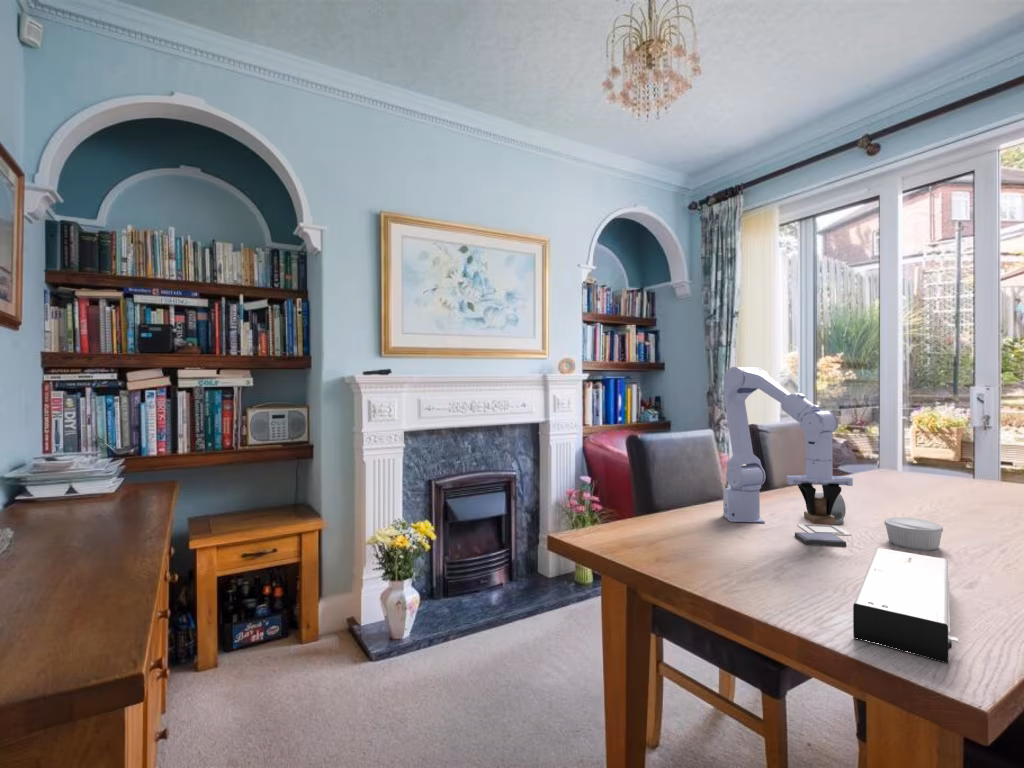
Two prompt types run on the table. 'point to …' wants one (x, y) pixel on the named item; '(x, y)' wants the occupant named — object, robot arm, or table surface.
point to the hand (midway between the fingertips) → (819, 513)
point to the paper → (824, 529)
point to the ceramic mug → (836, 508)
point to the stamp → (820, 512)
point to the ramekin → (914, 533)
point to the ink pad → (820, 539)
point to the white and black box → (905, 604)
